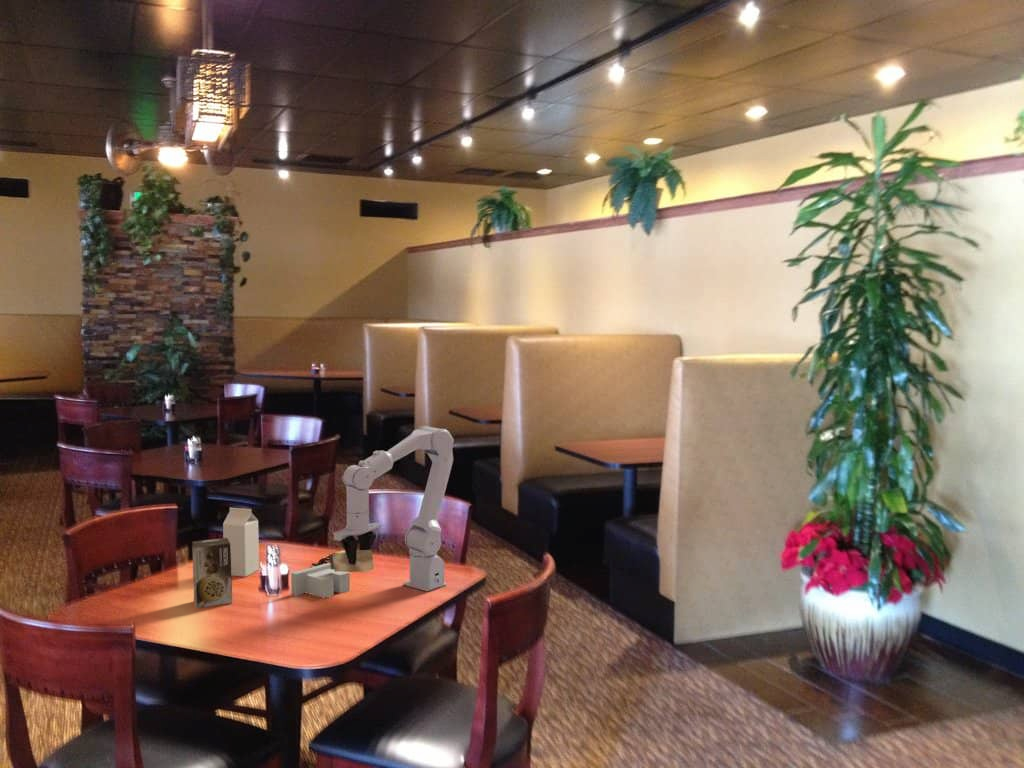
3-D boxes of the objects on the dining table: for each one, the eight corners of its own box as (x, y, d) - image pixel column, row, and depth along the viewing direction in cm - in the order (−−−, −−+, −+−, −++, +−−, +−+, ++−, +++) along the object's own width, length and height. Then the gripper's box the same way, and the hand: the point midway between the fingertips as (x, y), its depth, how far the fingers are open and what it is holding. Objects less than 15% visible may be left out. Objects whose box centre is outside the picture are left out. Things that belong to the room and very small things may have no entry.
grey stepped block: (359, 587, 242) (359, 566, 242) (312, 601, 230) (312, 579, 229) (338, 580, 248) (338, 560, 247) (291, 594, 236) (291, 572, 235)
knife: (305, 585, 245) (305, 580, 245) (285, 583, 247) (285, 578, 247) (346, 560, 270) (346, 556, 270) (326, 559, 271) (326, 554, 271)
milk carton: (245, 577, 251) (244, 511, 249) (223, 575, 253) (222, 510, 251) (259, 570, 258) (258, 506, 256) (238, 568, 260) (236, 505, 258)
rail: (374, 569, 230) (371, 550, 230) (363, 572, 228) (361, 552, 228) (337, 568, 240) (335, 550, 240) (327, 571, 237) (325, 552, 237)
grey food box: (229, 596, 234) (228, 537, 233) (232, 603, 228) (231, 542, 227) (193, 601, 230) (191, 540, 229) (195, 608, 224) (194, 546, 223)
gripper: (368, 504, 239) (368, 553, 240) (326, 513, 227) (326, 565, 228) (386, 508, 234) (386, 558, 235) (343, 517, 223) (344, 570, 224)
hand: (358, 562), depth 231 cm, fingers closed on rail, 3 cm apart
